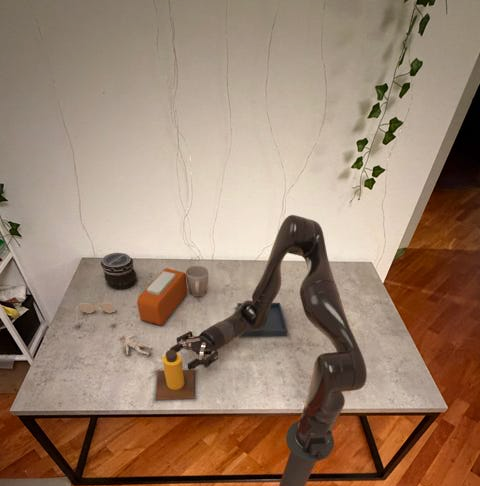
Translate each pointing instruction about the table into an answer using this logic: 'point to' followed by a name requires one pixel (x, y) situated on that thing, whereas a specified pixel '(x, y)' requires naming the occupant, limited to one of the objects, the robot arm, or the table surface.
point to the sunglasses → (104, 306)
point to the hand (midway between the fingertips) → (179, 359)
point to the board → (169, 394)
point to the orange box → (162, 296)
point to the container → (119, 270)
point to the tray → (269, 323)
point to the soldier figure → (133, 344)
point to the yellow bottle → (173, 370)
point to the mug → (197, 280)
